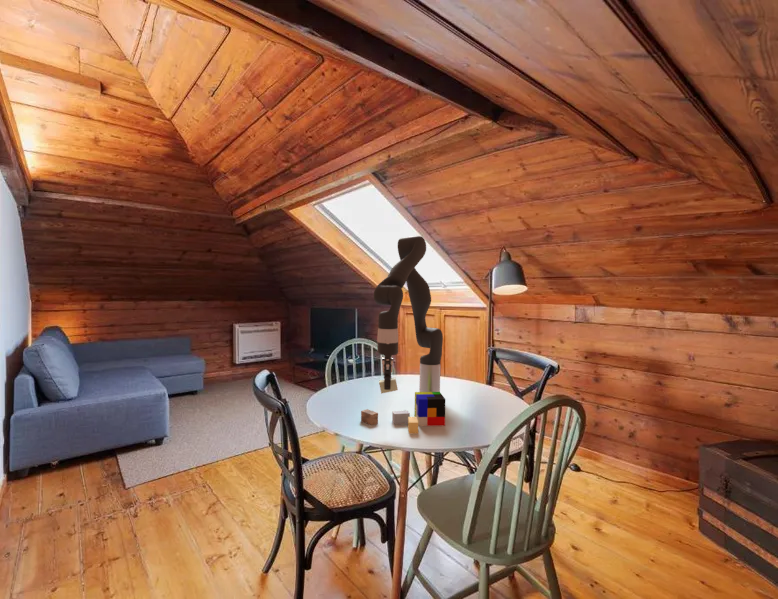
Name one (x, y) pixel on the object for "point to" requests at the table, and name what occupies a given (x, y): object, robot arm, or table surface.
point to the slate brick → (400, 417)
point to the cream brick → (392, 387)
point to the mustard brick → (412, 425)
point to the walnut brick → (369, 417)
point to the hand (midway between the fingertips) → (387, 387)
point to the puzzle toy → (429, 408)
